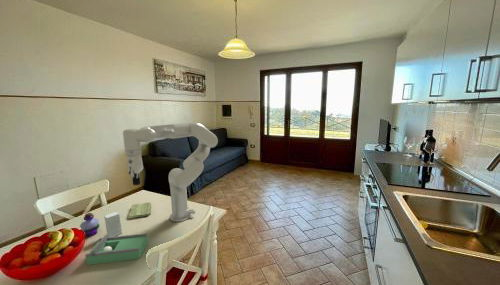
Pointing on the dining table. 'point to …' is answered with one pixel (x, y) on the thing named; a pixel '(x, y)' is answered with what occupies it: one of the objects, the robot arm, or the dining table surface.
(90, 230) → the purple rounded piece
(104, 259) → the green
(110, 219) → the skincare box
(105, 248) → the ball
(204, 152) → the robot arm
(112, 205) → the dining table surface
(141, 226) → the dining table surface
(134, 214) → the washcloth
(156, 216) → the dining table surface
